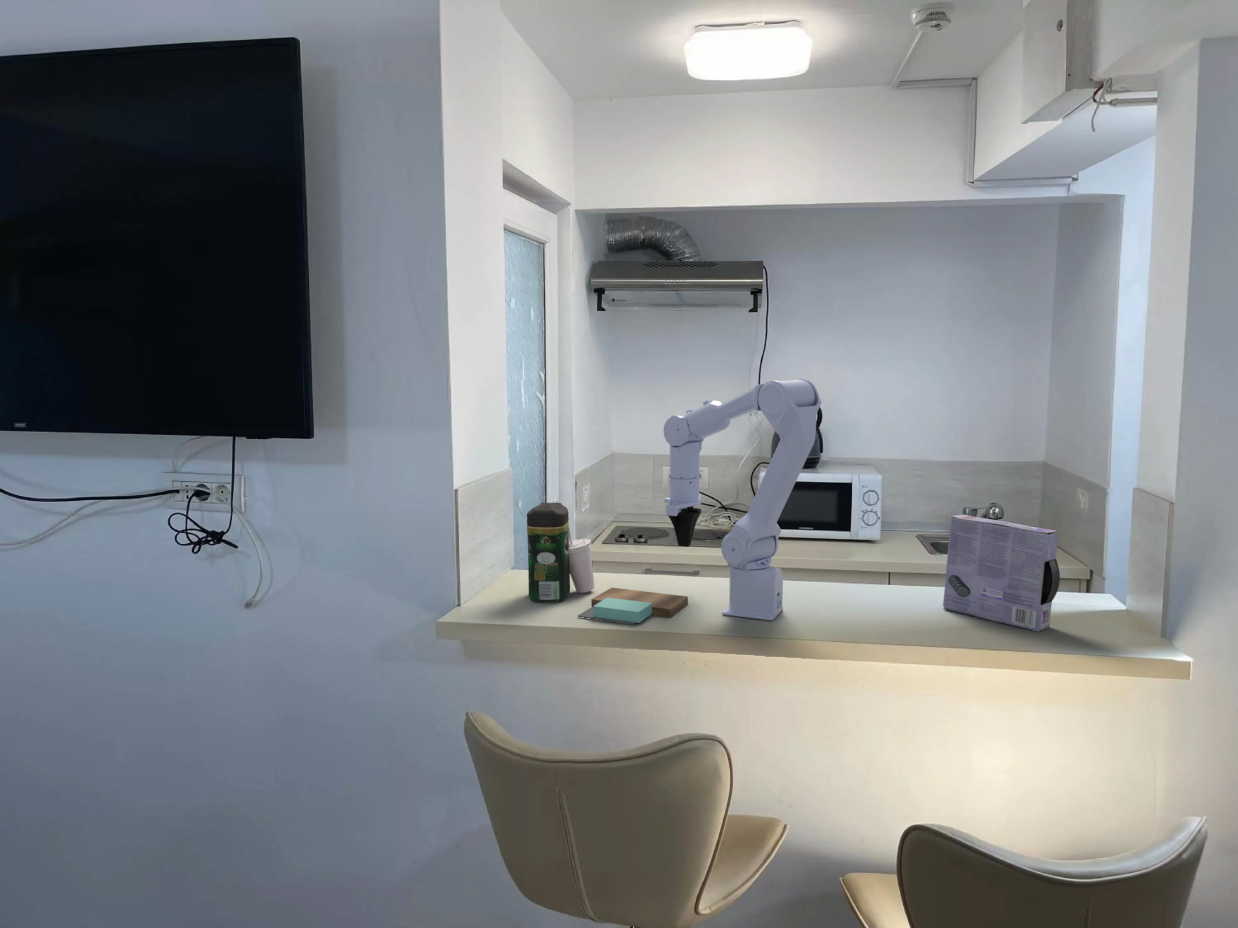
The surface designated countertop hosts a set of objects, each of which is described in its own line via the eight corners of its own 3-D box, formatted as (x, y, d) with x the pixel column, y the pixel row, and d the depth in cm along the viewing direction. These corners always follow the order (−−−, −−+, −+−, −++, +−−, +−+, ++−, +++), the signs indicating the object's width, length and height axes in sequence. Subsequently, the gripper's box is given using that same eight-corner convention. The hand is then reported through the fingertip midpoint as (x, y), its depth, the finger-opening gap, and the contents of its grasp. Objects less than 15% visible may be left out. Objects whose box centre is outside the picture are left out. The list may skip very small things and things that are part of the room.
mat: (647, 614, 169) (647, 612, 169) (632, 625, 163) (632, 623, 163) (593, 608, 174) (593, 605, 174) (577, 617, 168) (577, 615, 168)
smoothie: (566, 590, 187) (550, 524, 184) (595, 580, 189) (580, 515, 186) (575, 598, 181) (559, 530, 178) (605, 588, 183) (590, 521, 180)
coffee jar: (534, 589, 187) (532, 499, 184) (572, 590, 186) (571, 500, 183) (524, 603, 177) (522, 508, 175) (564, 604, 176) (563, 509, 174)
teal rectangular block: (652, 613, 169) (652, 602, 168) (639, 622, 163) (639, 611, 163) (607, 607, 172) (607, 597, 172) (593, 616, 167) (593, 606, 167)
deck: (687, 604, 176) (687, 596, 175) (670, 617, 168) (670, 609, 167) (611, 595, 182) (611, 587, 182) (591, 607, 174) (591, 599, 174)
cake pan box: (1058, 628, 160) (1064, 528, 158) (1045, 634, 157) (1051, 532, 155) (955, 604, 175) (959, 512, 172) (941, 609, 171) (945, 516, 169)
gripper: (678, 471, 187) (678, 536, 189) (651, 481, 174) (651, 551, 176) (711, 472, 184) (711, 539, 186) (686, 483, 171) (686, 555, 173)
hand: (684, 545), depth 181 cm, fingers closed
